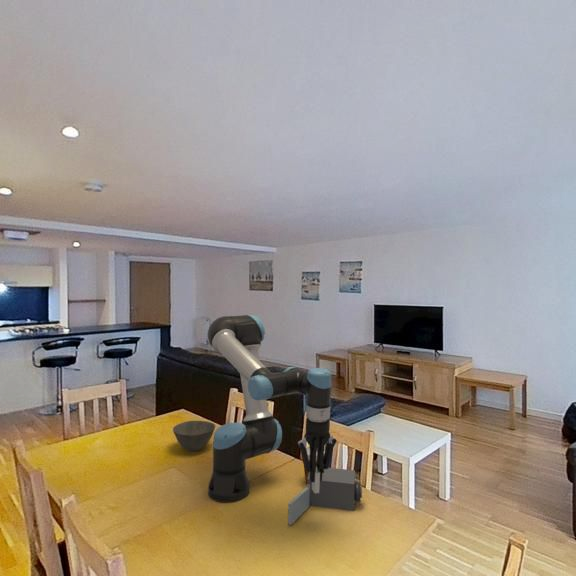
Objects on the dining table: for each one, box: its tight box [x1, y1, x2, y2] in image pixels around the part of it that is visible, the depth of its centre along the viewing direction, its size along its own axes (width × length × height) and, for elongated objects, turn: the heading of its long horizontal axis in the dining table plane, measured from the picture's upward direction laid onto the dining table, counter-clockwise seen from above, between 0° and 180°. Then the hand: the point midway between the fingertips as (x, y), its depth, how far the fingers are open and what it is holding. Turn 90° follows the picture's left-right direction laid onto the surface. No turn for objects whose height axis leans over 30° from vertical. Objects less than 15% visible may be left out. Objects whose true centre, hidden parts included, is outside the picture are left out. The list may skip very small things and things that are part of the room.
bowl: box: [172, 420, 216, 452], centre depth 182 cm, size 19×19×10 cm
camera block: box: [306, 467, 363, 512], centre depth 140 cm, size 18×10×10 cm, turn 79°
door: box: [287, 484, 311, 526], centre depth 130 cm, size 13×2×7 cm, turn 149°
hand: (315, 490), depth 127 cm, fingers closed
